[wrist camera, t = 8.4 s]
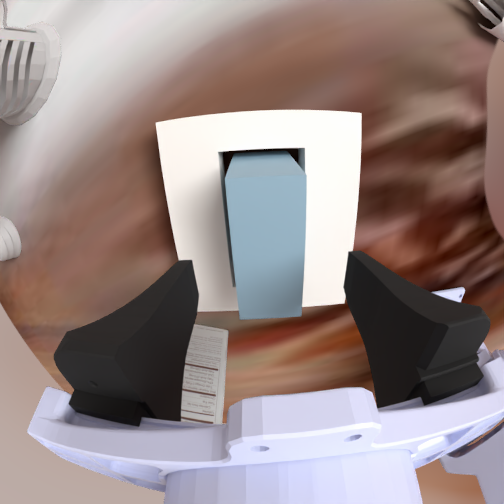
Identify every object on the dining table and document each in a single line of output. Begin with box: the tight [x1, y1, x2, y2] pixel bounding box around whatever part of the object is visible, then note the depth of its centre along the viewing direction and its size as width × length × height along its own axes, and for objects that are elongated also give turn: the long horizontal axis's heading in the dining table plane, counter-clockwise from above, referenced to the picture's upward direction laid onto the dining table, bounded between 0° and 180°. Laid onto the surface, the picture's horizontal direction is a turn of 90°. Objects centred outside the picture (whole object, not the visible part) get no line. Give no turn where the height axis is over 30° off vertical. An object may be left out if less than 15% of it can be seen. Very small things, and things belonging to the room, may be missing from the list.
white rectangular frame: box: [156, 110, 361, 312], centre depth 18 cm, size 14×12×2 cm
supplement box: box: [181, 324, 228, 424], centre depth 21 cm, size 7×7×13 cm
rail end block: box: [225, 151, 307, 320], centre depth 16 cm, size 8×4×7 cm, turn 3°
